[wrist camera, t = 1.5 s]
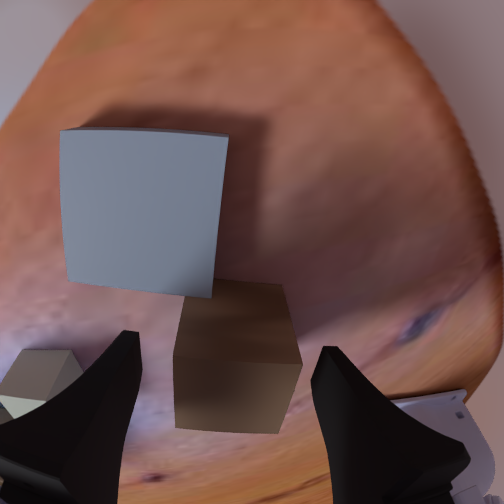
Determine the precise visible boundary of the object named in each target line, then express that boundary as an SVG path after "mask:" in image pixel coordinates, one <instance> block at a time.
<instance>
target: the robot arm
mask: <svg viewBox="0 0 504 504" xmlns="http://www.w3.org/2000/svg"><path fill="white" fill-rule="evenodd" d="M141 375H142V359H141V349H140V338H139V332H134V331H127V330H123V331H122V332H121V333H120V334H119V336H118V337H117V338H116V339H115V340H114V341H113V343H112V344H111V345H110V346H109V347H108V348H107V349H106V350H105V352H104V353H103V354H102V355H101V356H100V357H99V358H98V359H97V360H96V361H95V362H94V363H93V364H92V365H91V366H90V367H89V368H88V369H87V370H86V371H85V372H84V373H83V374H82V375H81V376H80V377H79V378H77V379H76V380H75V381H74V382H73V383H72V384H70V385H69V386H68V387H67V388H65V389H64V390H63V391H61V392H60V393H59V394H57V395H56V396H54V397H53V398H52V399H50V400H49V401H47V402H46V403H44V404H42V405H41V406H39V407H37V408H35V409H34V410H32V411H30V412H28V413H26V414H24V415H22V416H20V417H18V418H15V419H13V420H10V421H8V422H5V423H3V424H0V477H1V478H2V479H3V480H4V481H3V484H2V486H1V485H0V504H117V499H118V486H119V476H120V467H121V459H122V452H123V446H124V441H125V437H126V433H127V429H128V426H129V422H130V419H131V416H132V412H133V409H134V405H135V402H136V399H137V395H138V392H139V387H140V381H141ZM311 389H312V396H313V402H314V406H315V410H316V413H317V417H318V420H319V424H320V427H321V431H322V434H323V438H324V441H325V445H326V449H327V453H328V460H329V466H330V473H331V482H332V492H333V504H504V502H503V501H502V499H501V498H500V497H499V496H492V495H491V494H488V495H486V496H485V497H483V496H484V495H485V494H486V492H487V491H488V489H489V488H490V486H491V484H492V482H493V479H494V474H495V461H494V457H493V453H492V451H491V449H490V447H489V445H488V443H487V442H486V440H485V438H484V436H483V435H482V433H481V431H480V429H479V428H478V426H477V424H476V423H475V421H474V419H473V418H472V416H471V414H470V413H469V411H468V409H467V408H466V406H465V404H464V403H463V401H462V400H463V399H464V398H465V396H466V395H467V392H466V390H465V389H461V390H455V391H450V392H445V393H439V394H433V395H426V396H420V397H413V398H405V399H397V400H389V399H388V398H387V397H385V396H384V395H383V394H382V393H381V392H380V391H379V390H378V389H377V388H376V387H375V386H374V385H373V384H372V383H371V382H370V381H369V380H368V379H367V378H366V377H365V376H364V375H363V374H362V373H361V372H360V371H359V370H358V369H357V368H356V366H355V365H354V364H353V363H352V362H351V361H350V360H349V359H348V358H347V356H346V355H345V354H344V353H343V352H342V351H341V350H340V349H339V348H338V347H337V346H323V348H322V351H321V354H320V356H319V359H318V362H317V365H316V367H315V370H314V373H313V375H312V378H311Z"/></svg>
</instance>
